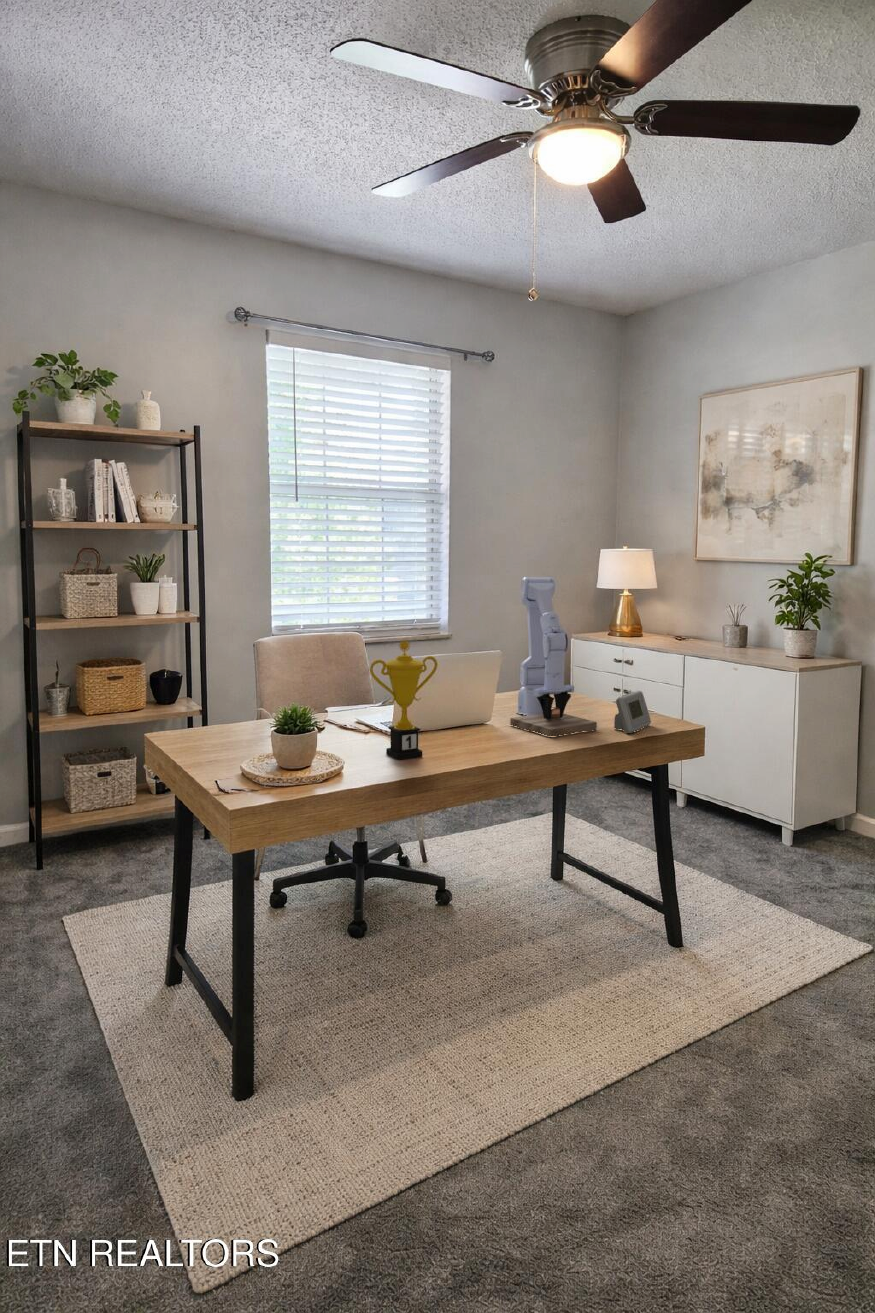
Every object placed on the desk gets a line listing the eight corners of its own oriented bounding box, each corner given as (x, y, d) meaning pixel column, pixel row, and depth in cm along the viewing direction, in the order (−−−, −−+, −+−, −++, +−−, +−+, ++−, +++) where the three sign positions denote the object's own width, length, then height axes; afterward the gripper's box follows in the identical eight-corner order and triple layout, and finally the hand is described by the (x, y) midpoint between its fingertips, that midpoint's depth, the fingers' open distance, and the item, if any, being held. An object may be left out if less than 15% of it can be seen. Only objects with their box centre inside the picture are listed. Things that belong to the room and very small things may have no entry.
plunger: (543, 727, 240) (543, 707, 239) (553, 725, 242) (553, 706, 242) (552, 729, 237) (553, 710, 236) (562, 728, 239) (563, 708, 238)
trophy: (378, 764, 198) (378, 644, 194) (362, 755, 207) (361, 639, 202) (445, 755, 208) (447, 640, 204) (427, 747, 216) (428, 636, 212)
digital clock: (629, 735, 231) (630, 699, 230) (603, 730, 238) (604, 695, 236) (660, 727, 242) (661, 692, 241) (634, 722, 249) (636, 688, 247)
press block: (510, 726, 242) (510, 714, 242) (554, 719, 252) (555, 708, 252) (550, 738, 227) (551, 726, 227) (596, 730, 237) (596, 718, 237)
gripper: (545, 676, 230) (543, 723, 232) (581, 672, 238) (580, 717, 240) (528, 673, 236) (527, 718, 238) (565, 669, 244) (564, 713, 246)
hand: (553, 718), depth 239 cm, fingers open, 4 cm apart
